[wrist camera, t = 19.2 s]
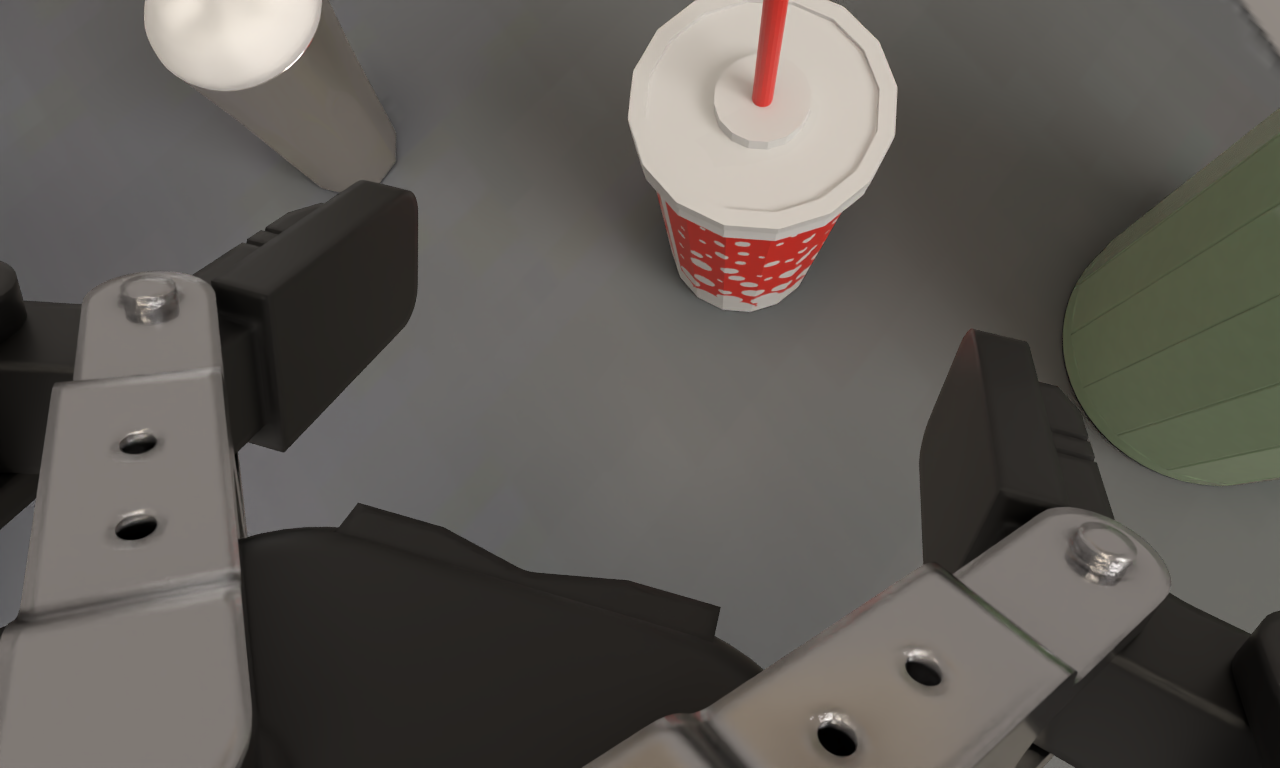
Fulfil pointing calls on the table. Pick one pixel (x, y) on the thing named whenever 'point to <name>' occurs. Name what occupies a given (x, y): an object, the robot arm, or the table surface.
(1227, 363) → the pen pot
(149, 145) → the table surface
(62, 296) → the table surface
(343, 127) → the milkshake
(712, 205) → the beverage cup
